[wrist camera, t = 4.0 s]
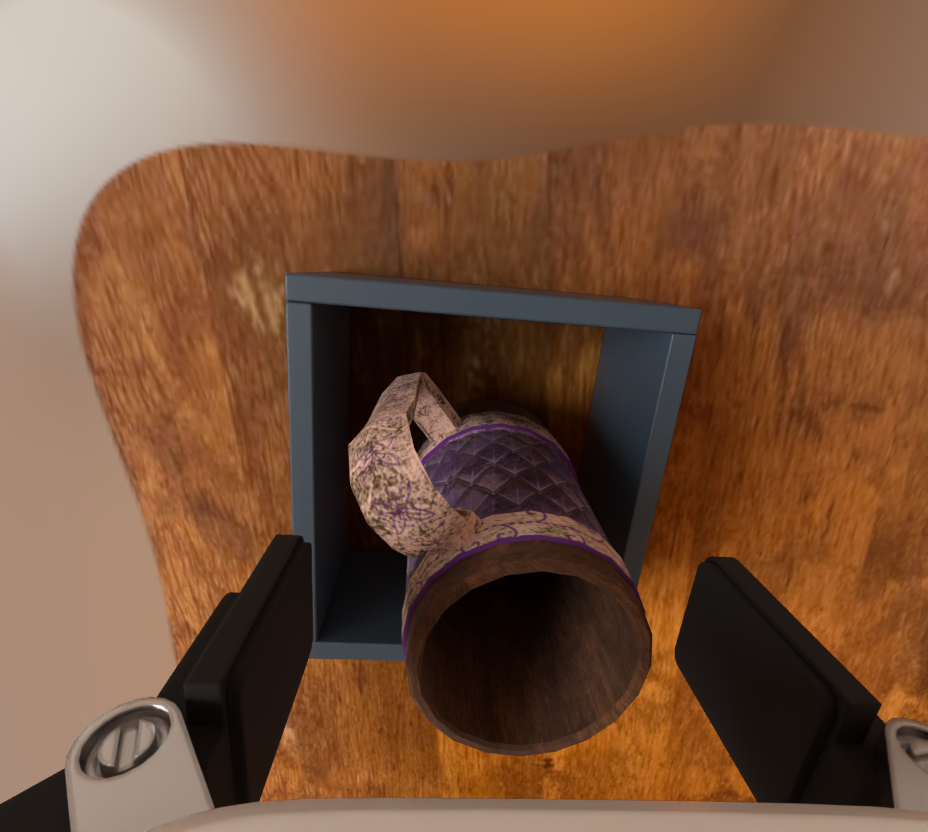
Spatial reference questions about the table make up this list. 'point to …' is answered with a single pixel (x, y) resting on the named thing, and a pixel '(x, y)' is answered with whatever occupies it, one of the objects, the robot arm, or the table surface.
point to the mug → (499, 573)
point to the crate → (332, 293)
